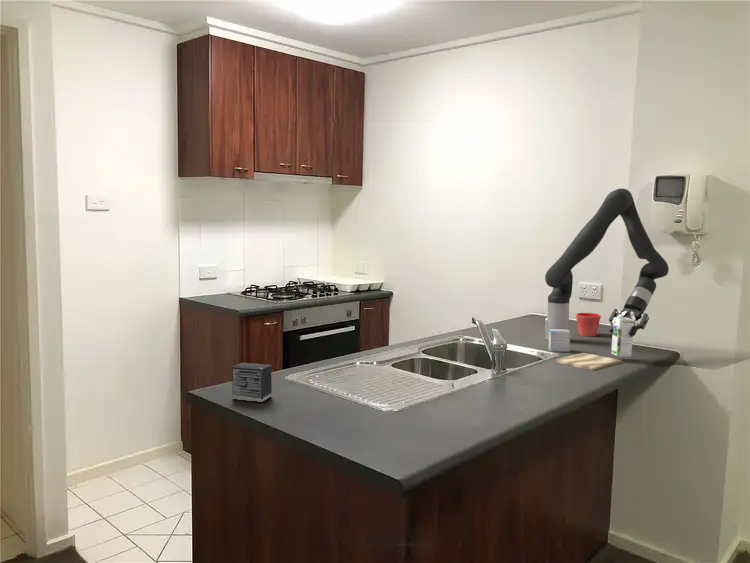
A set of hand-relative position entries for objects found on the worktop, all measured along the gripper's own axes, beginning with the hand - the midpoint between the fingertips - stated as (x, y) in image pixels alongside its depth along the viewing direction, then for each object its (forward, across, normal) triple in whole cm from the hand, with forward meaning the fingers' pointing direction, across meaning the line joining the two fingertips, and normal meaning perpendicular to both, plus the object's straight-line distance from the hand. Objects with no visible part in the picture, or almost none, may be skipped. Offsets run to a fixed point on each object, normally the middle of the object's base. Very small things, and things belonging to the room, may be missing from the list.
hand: (620, 333), depth 237 cm
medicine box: (+11, -25, +5) cm, 27 cm away
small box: (+103, -42, -88) cm, 142 cm away
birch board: (+16, -6, -1) cm, 17 cm away
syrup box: (+5, 0, +7) cm, 9 cm away
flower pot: (-17, -36, +33) cm, 52 cm away
